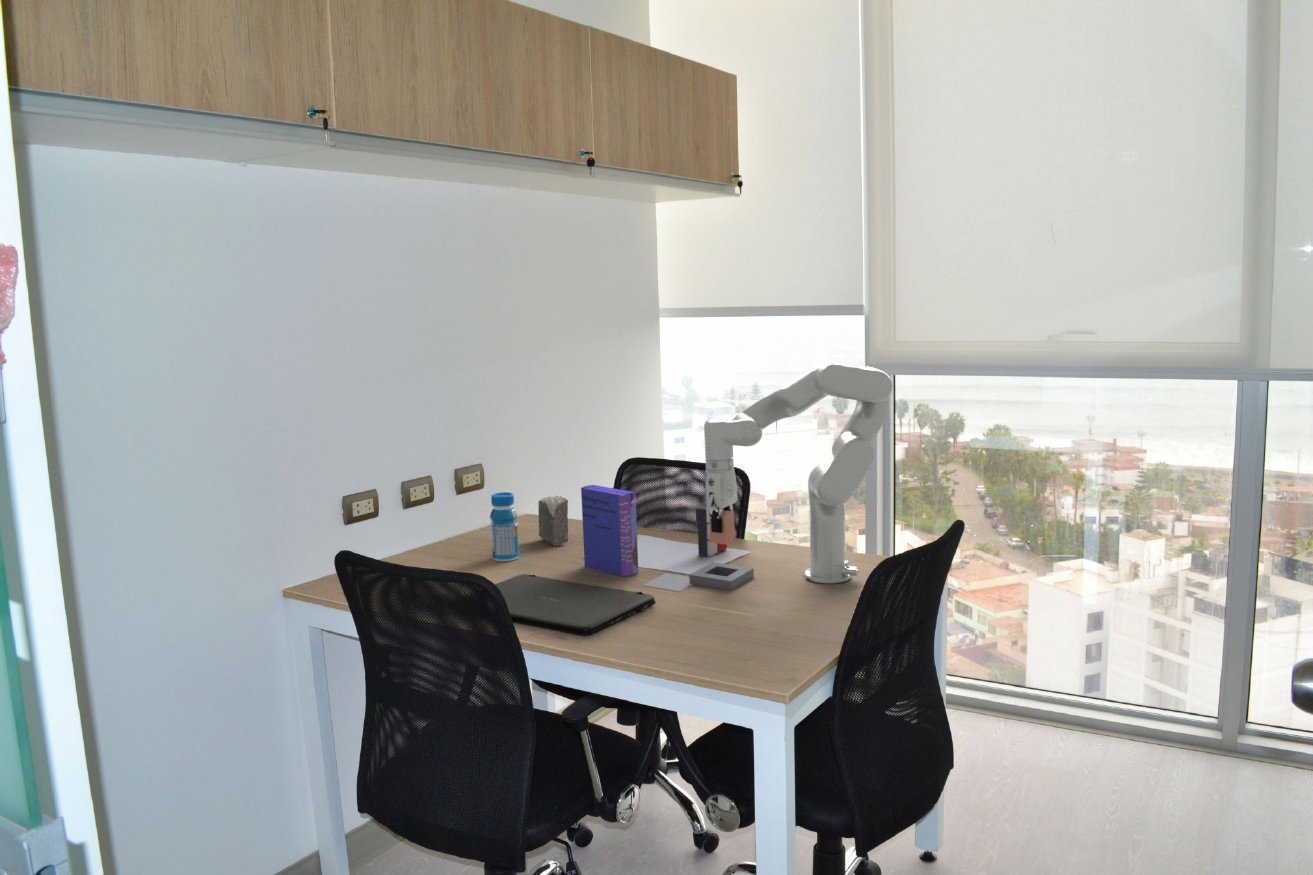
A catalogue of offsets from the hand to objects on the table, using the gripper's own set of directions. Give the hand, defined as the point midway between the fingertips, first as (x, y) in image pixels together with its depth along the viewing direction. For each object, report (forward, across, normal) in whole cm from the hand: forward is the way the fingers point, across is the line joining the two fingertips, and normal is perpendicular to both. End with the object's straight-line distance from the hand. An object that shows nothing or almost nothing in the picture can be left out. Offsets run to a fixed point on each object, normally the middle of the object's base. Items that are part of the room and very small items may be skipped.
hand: (722, 528), depth 267 cm
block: (+3, 0, 0) cm, 3 cm away
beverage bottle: (+14, -10, +70) cm, 73 cm away
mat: (+15, -8, +12) cm, 21 cm away
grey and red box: (+15, +23, +17) cm, 32 cm away
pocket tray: (+15, 0, 0) cm, 15 cm away
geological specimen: (+14, +11, +68) cm, 71 cm away
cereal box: (+15, -5, +34) cm, 38 cm away
